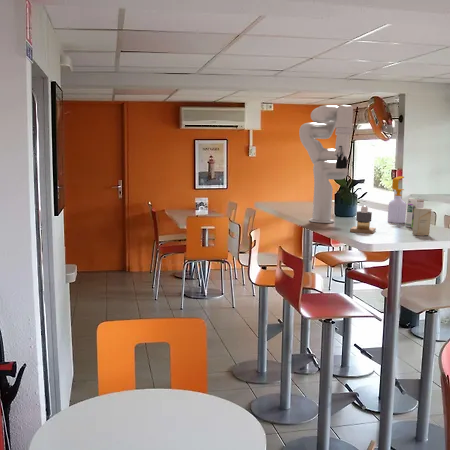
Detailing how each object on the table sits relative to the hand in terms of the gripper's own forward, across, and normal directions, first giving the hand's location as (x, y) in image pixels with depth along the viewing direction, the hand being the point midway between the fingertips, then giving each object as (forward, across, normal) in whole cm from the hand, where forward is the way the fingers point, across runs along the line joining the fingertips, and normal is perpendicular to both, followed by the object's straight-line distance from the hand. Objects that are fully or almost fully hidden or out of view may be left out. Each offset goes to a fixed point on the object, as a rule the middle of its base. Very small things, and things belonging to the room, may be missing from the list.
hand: (341, 168), depth 264 cm
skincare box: (+28, +2, +38) cm, 48 cm away
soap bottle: (+28, -43, +23) cm, 56 cm away
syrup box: (+28, -26, +33) cm, 51 cm away
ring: (+23, +7, +13) cm, 28 cm away
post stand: (+28, +7, +13) cm, 32 cm away
